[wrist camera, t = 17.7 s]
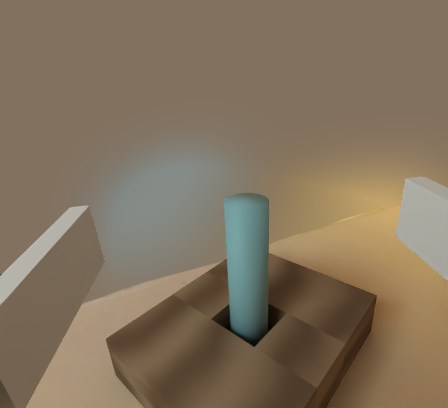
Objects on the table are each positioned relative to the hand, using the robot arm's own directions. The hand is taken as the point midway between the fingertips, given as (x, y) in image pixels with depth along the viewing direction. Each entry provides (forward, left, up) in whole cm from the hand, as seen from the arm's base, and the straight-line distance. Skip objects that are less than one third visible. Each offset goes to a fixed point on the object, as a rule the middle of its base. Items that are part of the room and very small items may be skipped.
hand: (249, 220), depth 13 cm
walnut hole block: (+7, -8, -19) cm, 22 cm away
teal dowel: (+7, -8, -19) cm, 22 cm away
